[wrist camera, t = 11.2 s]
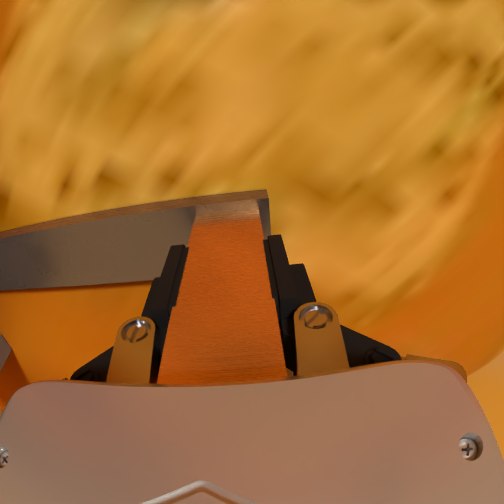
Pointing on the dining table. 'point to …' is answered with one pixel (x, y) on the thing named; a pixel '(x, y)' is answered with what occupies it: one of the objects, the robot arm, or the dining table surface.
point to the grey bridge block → (4, 351)
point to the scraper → (192, 283)
